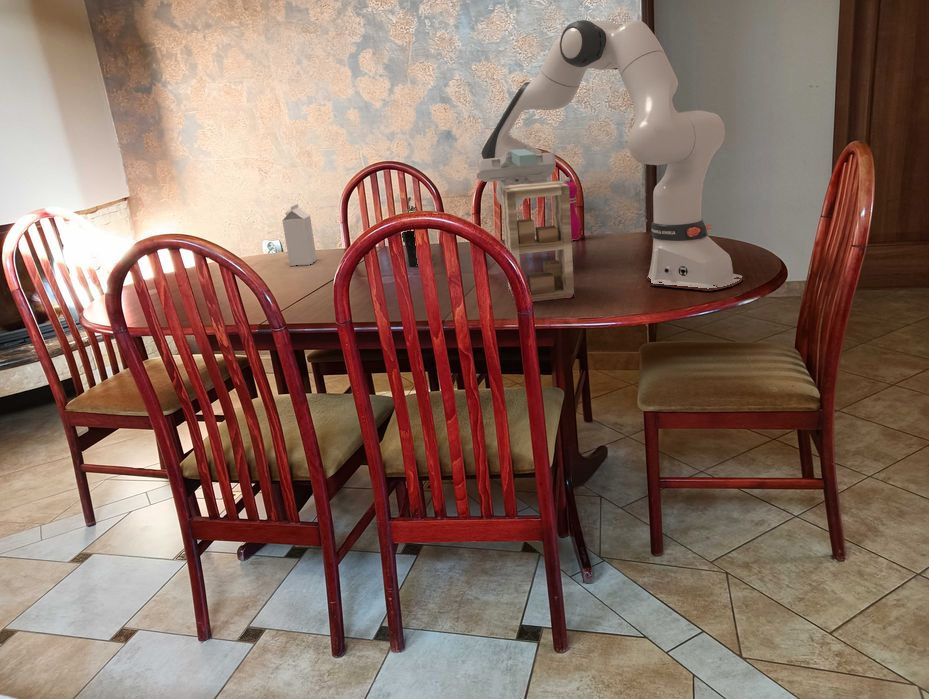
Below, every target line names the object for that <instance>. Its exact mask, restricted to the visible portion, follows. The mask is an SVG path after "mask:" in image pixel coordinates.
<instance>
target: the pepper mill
mask: <svg viewBox="0 0 929 699" xmlns="http://www.w3.org/2000/svg"><path fill="white" fill-rule="evenodd" d="M564 183H565V184H567V185H569V196H570V217H571V238H572V239H577V238H580V239H581V236H580V235H581V234H580V233H579V232H580V230H581V228H582V226H581V224H582V223H581V221H580V218H579V216H578V214H577V212H576V202H577V197H576V195H577V193H578V187H577V185H576V184H575V183H574V182H572V181H571V178H570V177H569V176H568V177H567V176H566V177H565V178H564Z"/></svg>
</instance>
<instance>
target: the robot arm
mask: <svg viewBox="0 0 929 699" xmlns="http://www.w3.org/2000/svg"><path fill="white" fill-rule="evenodd" d="M588 69H594V70H601V71H602V70H604V71H605V70H617V71H618V73H619V75H620V78H621V80H622V82H623V85H624V86H625V89H626V91H627V93H628V95H629V98H630V100H631V103H632V106H633V113H634V123H633V125H632V127H631V128H630V131H629V134H628V139H627V146H628V152H629V154H630V155H631V157H632V158H633V160H634V161H636V162H637V163H639V164H643V165H648V166H649V165H651V166H653V165H654V166H661V165H666V164H667V167H666V169H665V172H664V175H663V176H662V178H661V180H659V181H658V183H657V184H656V185H655V187H654V189H653V193H652V194H653V195H652V197H653V198H652V201H653V203H652V206H653V210H652V211H653V212H652V213H653V221H652V222H651V237H652V238H651V239H652V241H653V242H652V254H651V261H650V268H649V272H648V276H647V278H648V277H649V278H650V279H651V283H653V284H664V285H677V286H688V287H698V288H707V289H709V288H717V287H723V286H727V285H730V284H732V283H735V282H737V281H739V280H740V279H734V278H736V277H739V278H742V277H743V275H741V274H736V273H734V269H733V262H732V258H731V255H730V254H729V253H728V252H727V251H726V250H724V249H723V248H721V247H720V246H719V245H718V244H717V243H716V242H715V241H713V240H712V238H710V236H709V234H708V233H709V232H708V231H709V230H711V229H712V227H711V226H712V224H710V223H709V224H707V225H706V224H705V222H704V220H703V219H702V202H703V200H702V199H703V187H704V181H705V177H706V174H707V171H708V168H709V166H710V163H711V161H712V159H713V157H714V155H715V153H716V152H717V151H718V150H719V149H720V148H721V146H722V145H723V144H724V141H725V136H726V129H725V124H724V121H723V120H722V119H721V118H722V117H720V116H719V115H718V114H717V113H715V112H712V111H711V112H710V111H706V110H698V109H697V110H688V111H687V110H686V111H682V112H679V111H677V110H676V108H675V106H674V103H673V102H674V101H673V97H674V95H675V94H676V92H677V90H678V87H679V80H678V77H677V76H676V73H675V72H674V69H673V67H672V65H671V63H670V61H669V59H668V56H667V55H666V53H665V51H664V48H663V47H662V45H661V43H660V42H659V40H658V38H657V37H656V35H655V34H654V33H653V31H652V30H651V29H650V28H649V26H648V25H647V24H646V23H645V22H644V21H642V20H635V19H634V20H630V21H627V22H624V23H623V24H622V23H618V24H617V23H613V22H609V21H605V20H588V19H587V20H586V19H585V20H583V19H582V20H576V21H574V22H571V23H569V24H568V25H567V26H566V27H565V28H564V29H563V31H562V33H561V34H560V35H559V36H558V37H557V38H556V39H555V40H554V43H553V44H552V46H551V48H550V50H549V51H548V53H547V55H546V57H545V59H544V61H543V63H542V66H541V69H540V71H539V73H538V74H537V76H536V77H535V78H534V79H532V81H526V82H524V83H523V84H522V85H521V86H520V88H518V90H517V92H515V94H514V96H513V98H511V101H510V102H509V104H508V105H507V107H506V109H505V110H504V113H503V114H502V116H501V117H500V119H499V121H498V122H497V124H496V126H495V128H494V130H493V131H492V132H491V133H490V134H489V136H488V137H487V139H486V140H485V141H484V143H483V145H482V147H481V153H480V154H481V158H482V159H480V160H479V161H478V163H477V165H478V173H477V174H476V179H477V180H481V181H482V182H484V183H489V182H497V183H496V189H495V193H496V199H497V202H498V203H499V204H500V205H501V206H502V196H501V186H509V185H519V184H529V183H539V182H548V179H549V178H550V177H552V175H553V174H554V171H555V170H556V164H557V163H556V156H555V153H553V152H543V151H542V150H540V149H538V148H536V147H535V146H532V145H530V144H527V143H525V142H523V141H521V140H519V139H517V138H514V137H513V136H511V133H510V132H511V131H512V129H513V127H514V125H515V124H516V122H517V121H518V119H519V117H520V115H521V114H522V113H523V112H525V111H529V110H540V111H541V110H542V111H554V110H555V111H556V110H560V109H563V108H565V107H567V106H568V105H569V104H570V103H571V102H572V101H573V99H574V97H575V96H576V94H577V92H578V90H579V89H580V88H579V87H580V85H581V83H582V80H583V78H584V76H585V75H586V74H585V73H586V71H587V70H588ZM517 149H526V150H528V151H530V152H532V153H534V154H536V162H537V165H532V166H522V167H520V166H518V165H517V164H515V163H513V162H512V161H511V159H512V156H511V152H509V150H517ZM525 199H526V198H524V199H516V209H518V208H519V207H520V206H521V205H522V204H523V202H524V201H525ZM659 282H662V283H659ZM713 285H715V286H713ZM716 286H717V287H716Z"/></svg>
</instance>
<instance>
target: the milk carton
mask: <svg viewBox="0 0 929 699" xmlns="http://www.w3.org/2000/svg"><path fill="white" fill-rule="evenodd" d="M282 227H283V233H284V240H285V245H286V250H287V257H288V262H289V266H290V267H292V266H293V267H294V266H296V265H298V266H309V265H310V264H311V265H312V264H314V263H315V262H316V261H317V260H318V257H317V253H316V246H315V239H314V232H313V225H312V220H311V215H310V214H308V212H306V211H305V210H303V209H302V208H300V207H299V203H296V204H293V205H292V206H290V208H289V209H287V211H286V212H285V217H284V218H283V219H282ZM313 262H314V263H313Z"/></svg>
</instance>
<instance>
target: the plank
mask: <svg viewBox="0 0 929 699" xmlns="http://www.w3.org/2000/svg"><path fill="white" fill-rule="evenodd" d="M509 152H511V156H512V159H511V161H512V162H513V163H515V164H517V165H518V166H520V167H522V166H532V165H537V162H536V154H534V153H532V152H530V151H528V150H526V149H517V150H509Z"/></svg>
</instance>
